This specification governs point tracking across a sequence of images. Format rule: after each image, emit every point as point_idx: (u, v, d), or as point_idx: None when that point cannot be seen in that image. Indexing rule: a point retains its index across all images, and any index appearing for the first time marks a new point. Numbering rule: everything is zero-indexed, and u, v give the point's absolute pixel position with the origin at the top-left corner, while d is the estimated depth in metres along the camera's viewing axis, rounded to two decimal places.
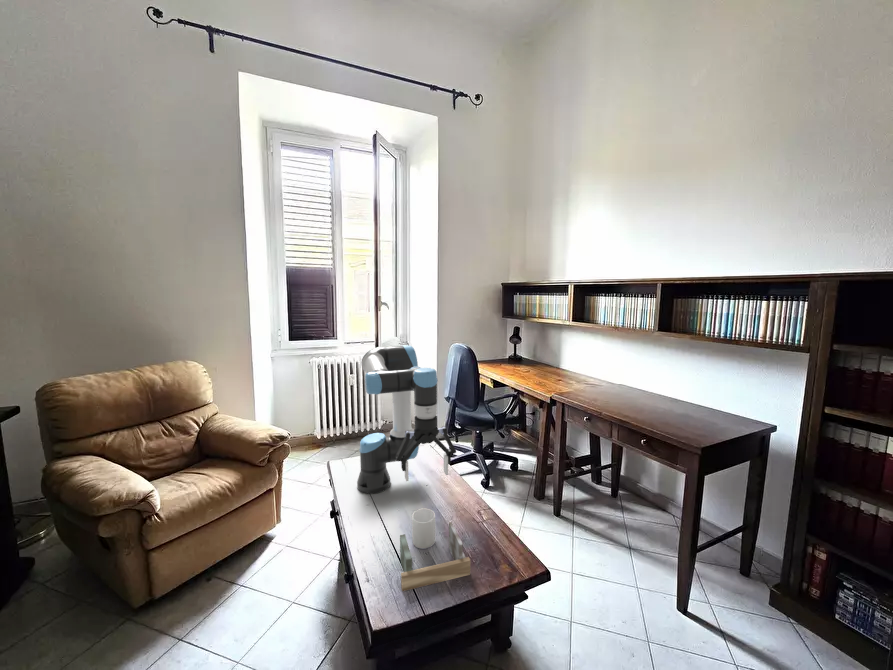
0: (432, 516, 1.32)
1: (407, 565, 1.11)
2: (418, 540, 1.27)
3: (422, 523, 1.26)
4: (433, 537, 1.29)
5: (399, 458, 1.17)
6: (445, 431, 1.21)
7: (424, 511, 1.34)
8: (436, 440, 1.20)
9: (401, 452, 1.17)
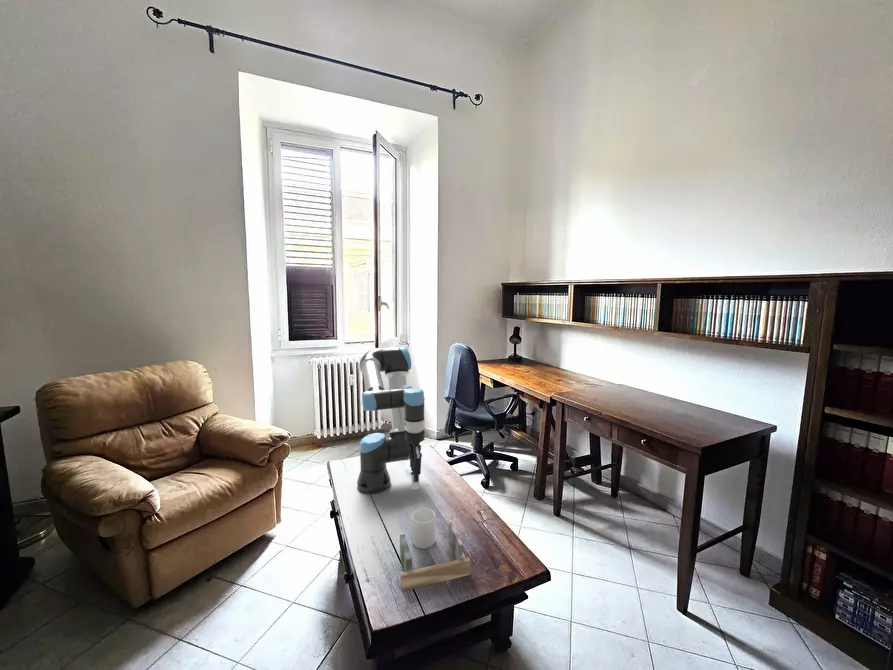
0: (432, 516, 1.32)
1: (407, 565, 1.11)
2: (418, 540, 1.27)
3: (422, 523, 1.26)
4: (433, 537, 1.29)
5: (410, 464, 1.42)
6: (414, 456, 1.33)
7: (424, 511, 1.34)
8: (411, 454, 1.36)
9: (410, 459, 1.42)
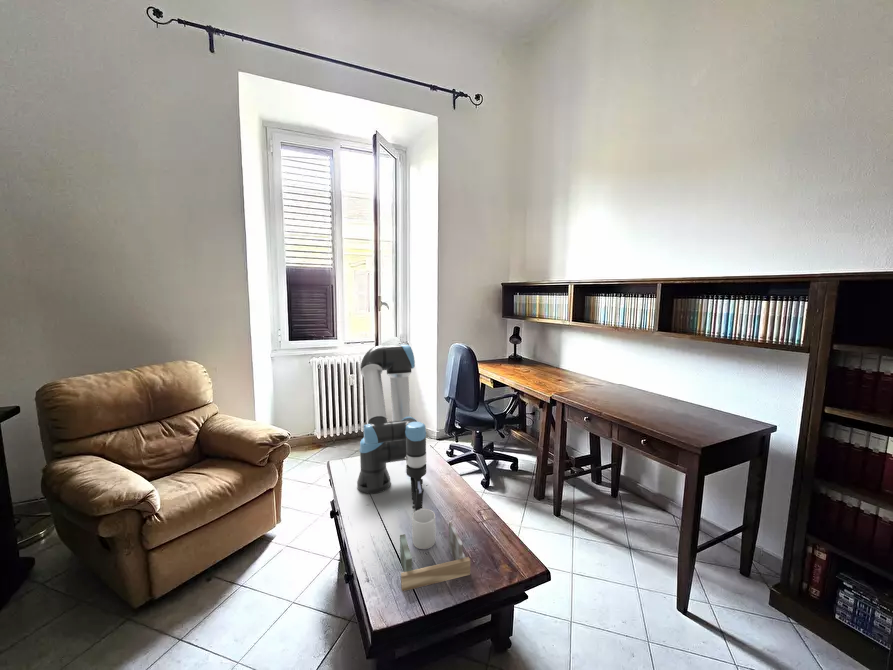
0: (432, 516, 1.32)
1: (407, 565, 1.11)
2: (418, 541, 1.27)
3: (422, 523, 1.25)
4: (433, 537, 1.28)
5: (412, 497, 1.41)
6: (416, 491, 1.32)
7: (424, 511, 1.33)
8: (413, 488, 1.36)
9: (411, 491, 1.42)
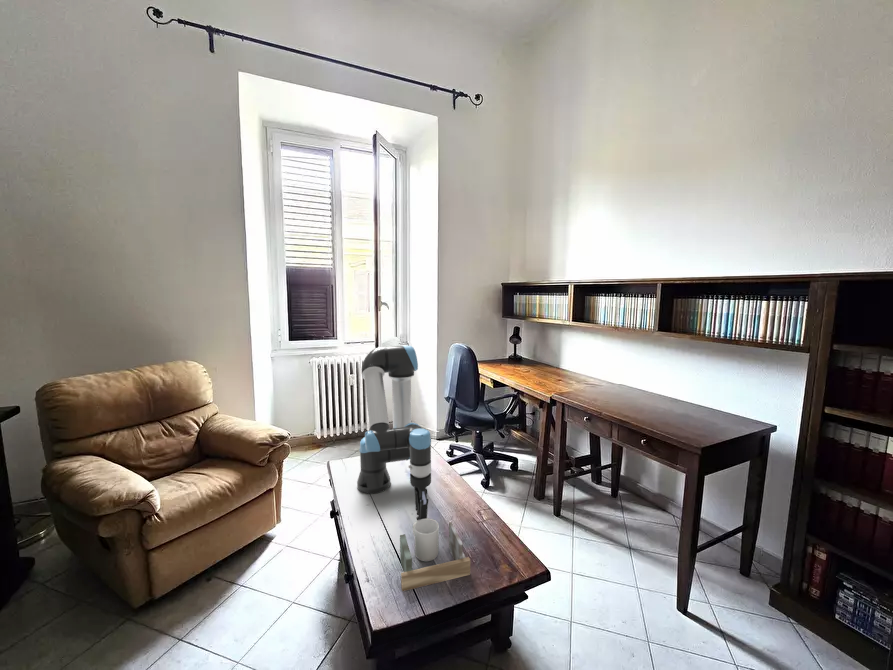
0: (434, 526, 1.27)
1: (407, 565, 1.11)
2: (423, 553, 1.21)
3: (427, 534, 1.20)
4: (437, 547, 1.23)
5: (416, 508, 1.34)
6: (421, 502, 1.25)
7: (425, 521, 1.28)
8: (417, 499, 1.29)
9: (415, 502, 1.35)
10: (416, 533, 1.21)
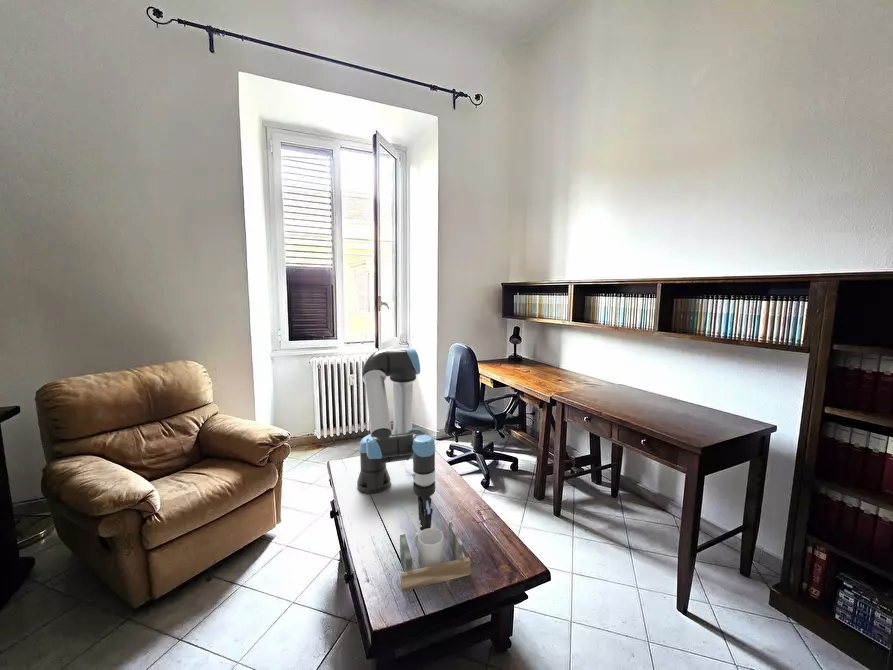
0: (438, 535, 1.22)
1: (407, 565, 1.11)
2: (428, 565, 1.16)
3: (433, 545, 1.15)
4: (442, 558, 1.19)
5: (419, 517, 1.29)
6: (424, 512, 1.20)
7: (428, 531, 1.23)
8: (420, 508, 1.24)
9: None
10: (421, 544, 1.16)
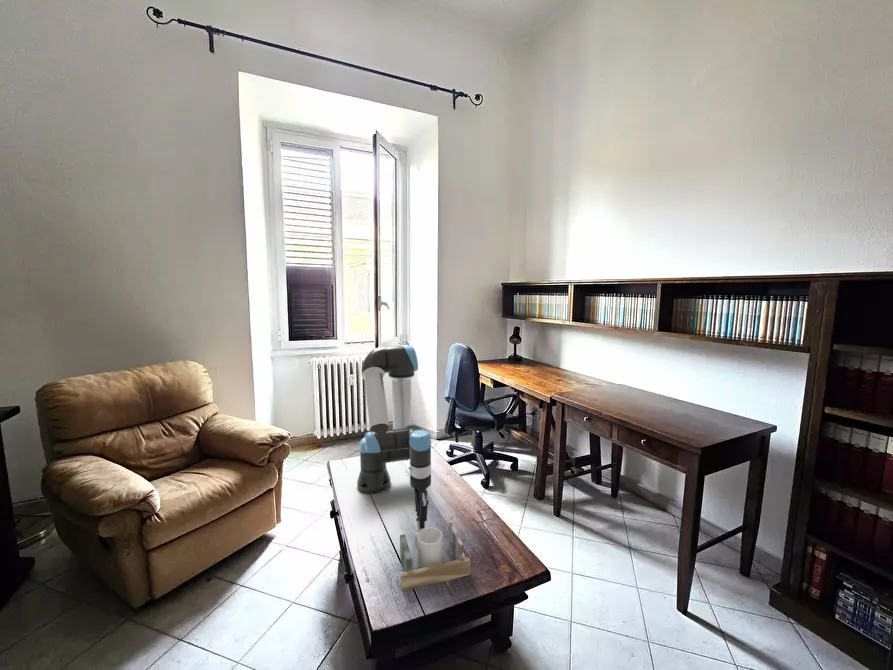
0: (437, 534, 1.22)
1: (407, 565, 1.11)
2: (428, 564, 1.16)
3: (432, 544, 1.15)
4: (442, 557, 1.19)
5: None
6: (421, 504, 1.26)
7: (427, 531, 1.23)
8: (417, 500, 1.29)
9: (415, 503, 1.35)
10: (420, 543, 1.16)
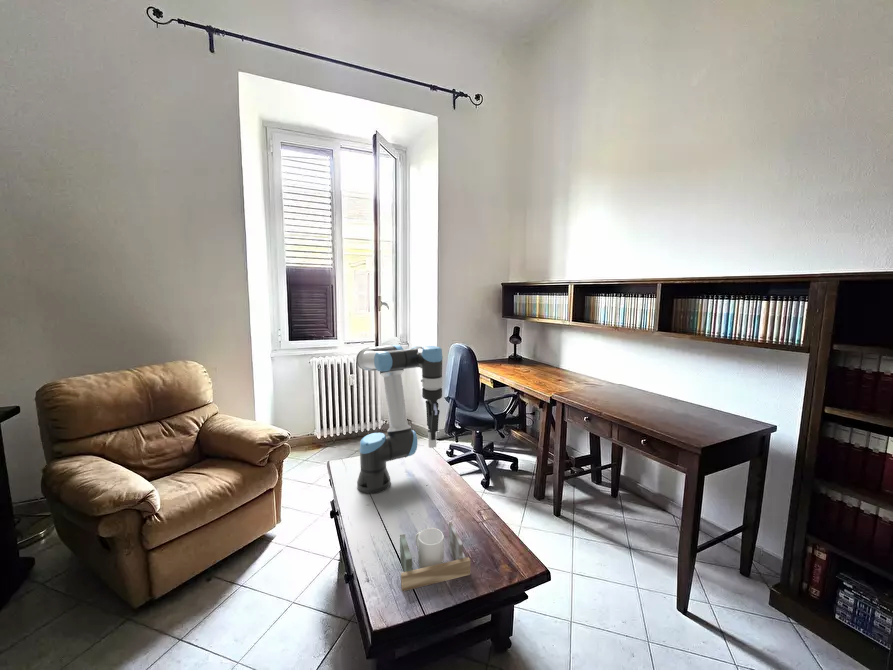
0: (438, 535, 1.22)
1: (407, 565, 1.11)
2: (428, 564, 1.16)
3: (433, 545, 1.15)
4: (442, 558, 1.19)
5: (427, 423, 1.42)
6: (432, 412, 1.32)
7: (428, 531, 1.23)
8: (428, 412, 1.36)
9: (427, 417, 1.42)
10: (421, 544, 1.16)
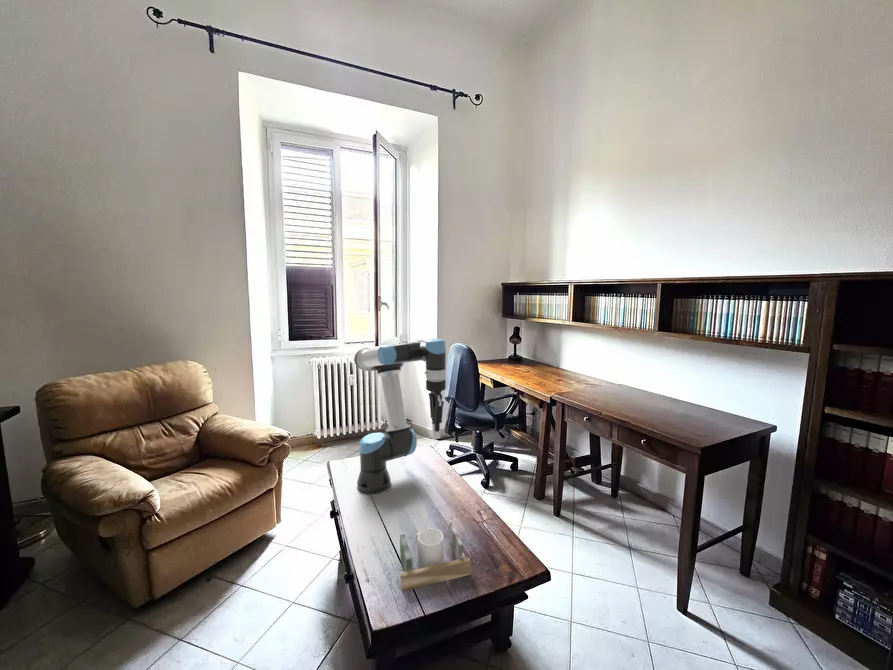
0: (438, 535, 1.22)
1: (407, 565, 1.11)
2: (428, 565, 1.16)
3: (432, 545, 1.15)
4: (442, 558, 1.18)
5: (431, 415, 1.44)
6: (436, 404, 1.35)
7: (428, 531, 1.22)
8: (432, 403, 1.39)
9: (430, 410, 1.44)
10: (420, 544, 1.16)
